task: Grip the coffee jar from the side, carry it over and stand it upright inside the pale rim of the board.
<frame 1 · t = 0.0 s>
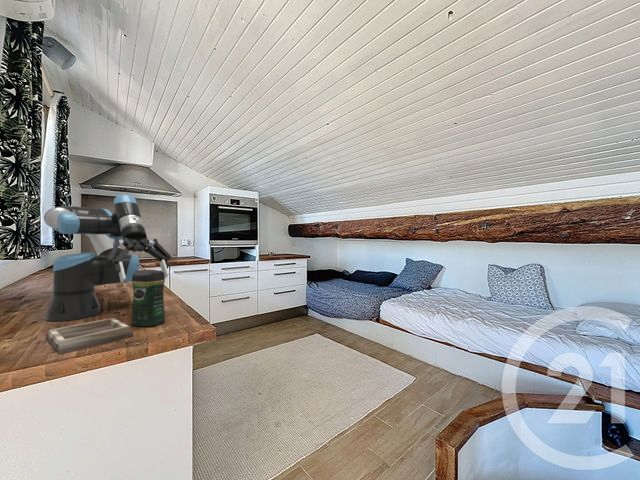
hand: (146, 278, 96), 15 cm above the table, tool tilted 35°, fingers open, 13 cm apart
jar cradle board: (89, 337, 80), on the table
coffee jar: (148, 324, 93), on the table
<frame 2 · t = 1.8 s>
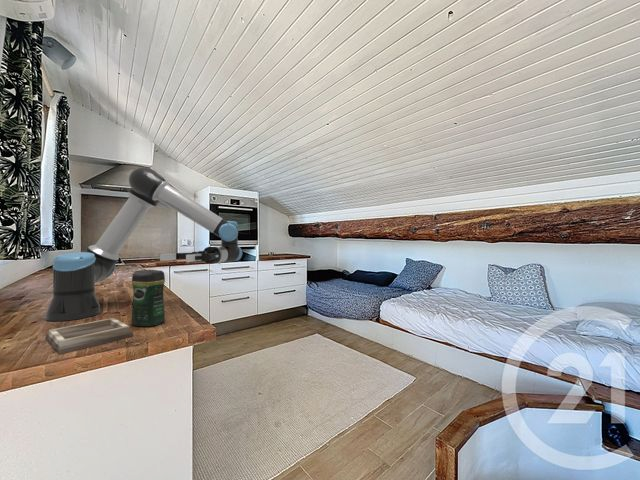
hand: (173, 258, 102), 22 cm above the table, tool horizontal, fingers open, 13 cm apart
nothing on the table moved.
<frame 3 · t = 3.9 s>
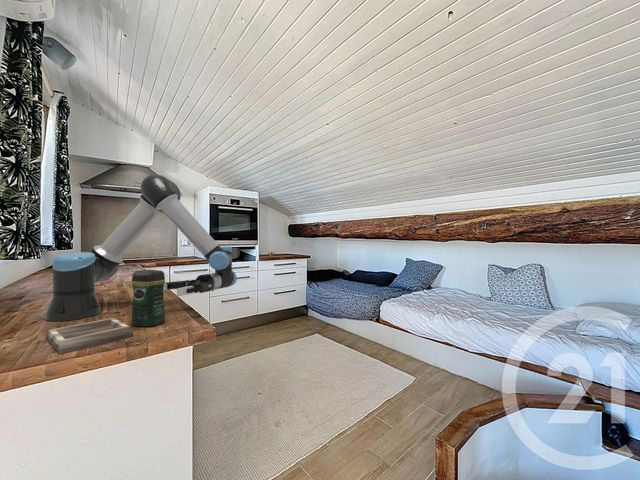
hand: (163, 291, 98), 10 cm above the table, tool horizontal, fingers open, 13 cm apart
nothing on the table moved.
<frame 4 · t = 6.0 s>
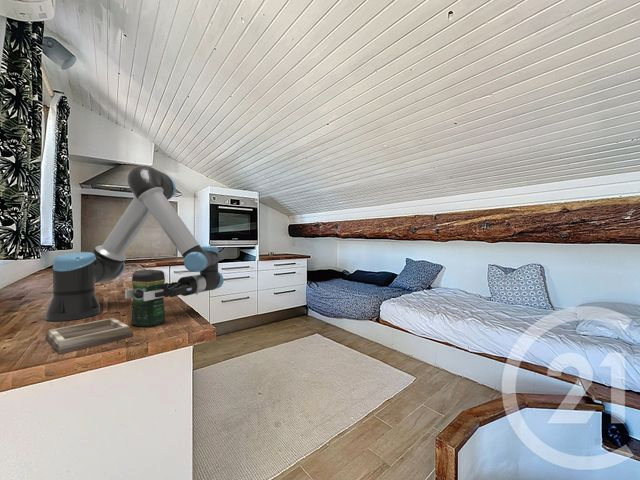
hand: (135, 295, 89), 11 cm above the table, tool horizontal, fingers closed on coffee jar, 8 cm apart
coffee jar: (148, 324, 93), on the table, touching gripper
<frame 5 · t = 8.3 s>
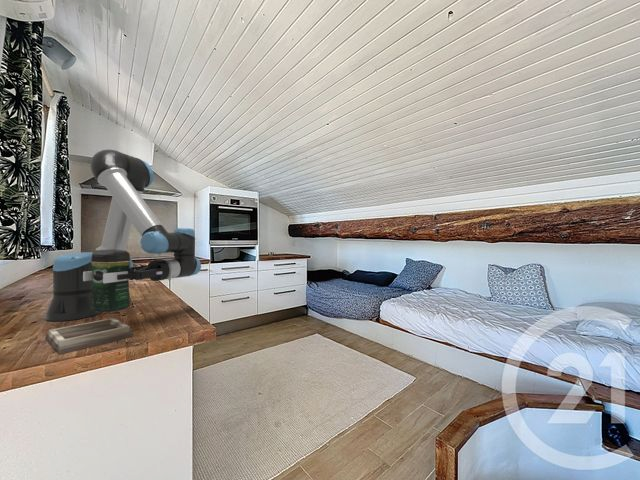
hand: (93, 277, 79), 18 cm above the table, tool horizontal, fingers closed on coffee jar, 8 cm apart
coffee jar: (110, 310, 83), point 7 cm above the table, touching gripper
when the fingers open (13 cm above the table, at t = 10.8 s): coffee jar drops 1 cm, resting on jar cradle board.
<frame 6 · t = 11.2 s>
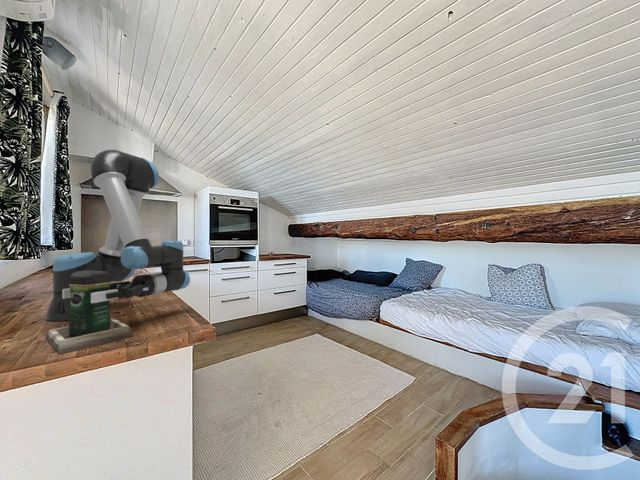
hand: (76, 296, 77), 13 cm above the table, tool horizontal, fingers open, 13 cm apart
coffee jar: (90, 334, 80), point 1 cm above the table, touching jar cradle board
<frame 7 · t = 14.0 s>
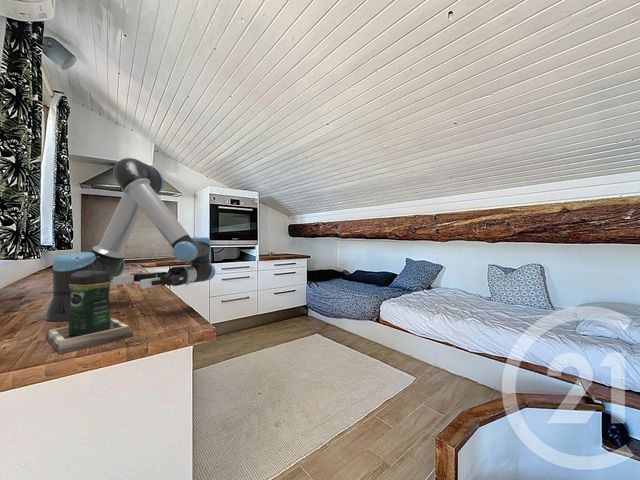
hand: (126, 282, 90), 15 cm above the table, tool horizontal, fingers open, 13 cm apart
nothing on the table moved.
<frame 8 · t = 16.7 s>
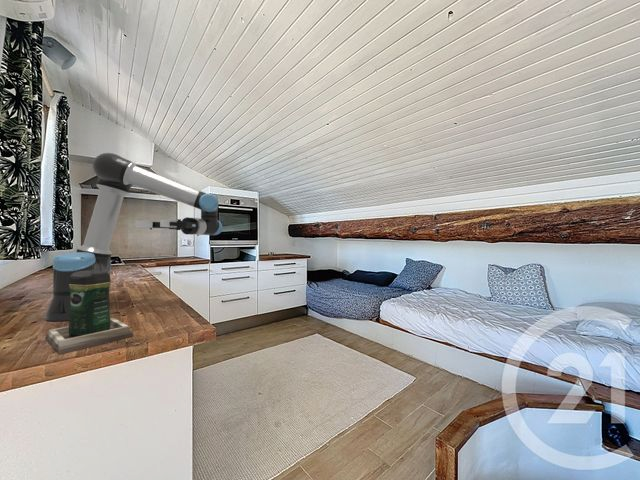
hand: (148, 223, 103), 35 cm above the table, tool horizontal, fingers open, 13 cm apart
nothing on the table moved.
at the end: coffee jar 0.3 cm off-centre on the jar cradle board, point 1.0 cm above the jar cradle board's base; coffee jar tilted 0°; the gripper is holding nothing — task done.
